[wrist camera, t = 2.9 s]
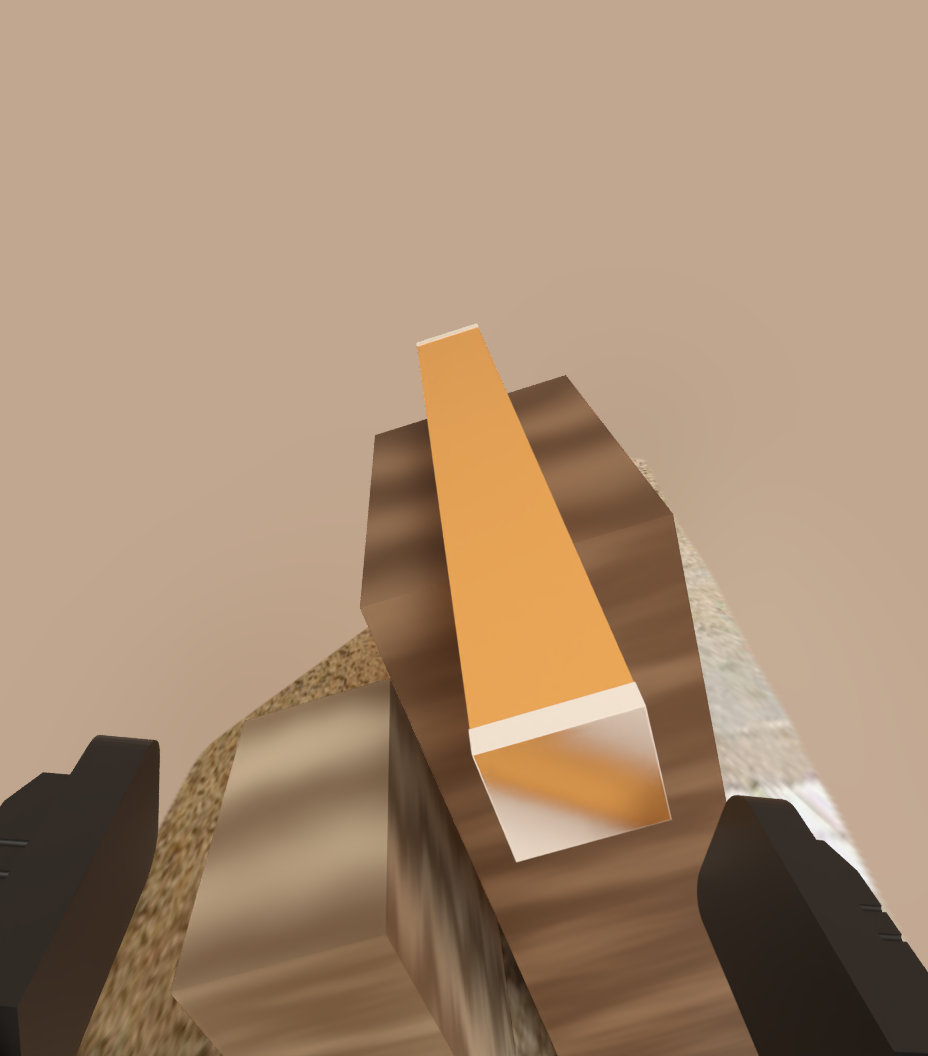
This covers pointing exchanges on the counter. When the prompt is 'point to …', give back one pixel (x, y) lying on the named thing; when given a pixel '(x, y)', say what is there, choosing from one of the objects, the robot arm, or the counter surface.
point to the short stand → (341, 898)
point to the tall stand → (676, 723)
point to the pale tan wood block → (530, 626)
